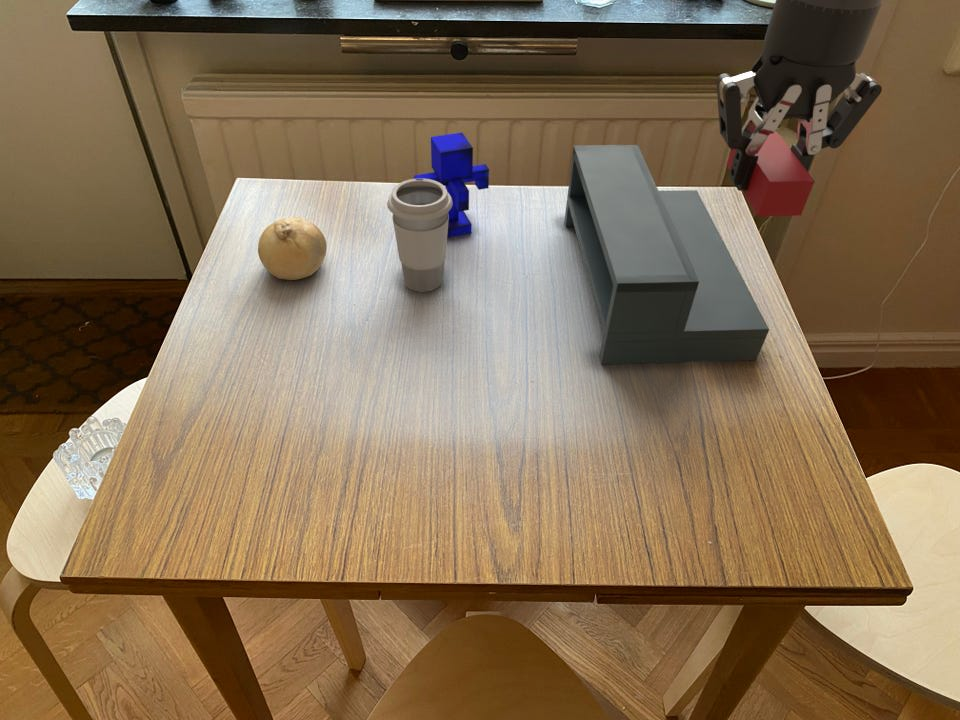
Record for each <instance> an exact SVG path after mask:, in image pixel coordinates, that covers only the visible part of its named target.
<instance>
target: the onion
mask: <svg viewBox="0 0 960 720" xmlns="http://www.w3.org/2000/svg"><path fill="white" fill-rule="evenodd" d="M327 247H328V245H327V240H326V238H325V235H324V233H323V232H322V230H321V229H320V228H319V227H318V226H317V225H316V224H315V223H313V222H312V221H311V220H308V219H304V218H303V217H302V218H301V217H286V218H280V219H278V220H276V221H274V222H273V223H271V224H269V225H268V226H266V228H264V230H263V231H262V233H261V234H260V237H259V239H258V243H257V254H258V258H259V260H260V262H261V265H262V266H263V267H264V268H265V269H266V270H267V271H268V272H269V274H270V275H272V276H273V277H275V278H277V279H280V280H289V281H293V280H301V279H304V278H307V277H309V276H312V275H314V274H315V273H317V272H318V270H319V269H320V268H321V266H322V264H323V262H324V261H325V260H324V259H325V258H326V255H327V249H328V248H327Z"/></svg>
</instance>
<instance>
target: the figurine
mask: <svg viewBox="0 0 960 720" xmlns="http://www.w3.org/2000/svg"><path fill="white" fill-rule="evenodd" d="M469 141H470V140H468V138H467V137H466V136H465V134H464V133H463V132H462V131H461V132H455V133H448V134H442V135H435V136H430V158H431V159H430V160H431V163H430V164H431V168H432V170H433V172H426V173H421V174H414V175H413V179H419V178H421V179H430V180H434V181H437V182H439V183H441V184H442V185H443V186H445V188H446V190H447V192H448V193H449V195H450V196H451V198H452V202H453V205H452V208H451V209H450V211H449V212H448V215H449V220H448V232H447V238H450V237H455V236H461V235H466V234H472V231H473V229H472V227H473V226H472V222H471V220H470V219H469V217H468V215H467V214H466V212H467V211H469V210H470V189H469V188H468V187H467V185H466V184H467V183H472V182H474V185H475V187H476V188H477V190H478V191H479V190H485V189H486V190H487V189H489V185H490V168H489V167H488V165H487V164H486V163H483V164H478V165H474V147H473V145H472V144H471V143H470V142H469Z"/></svg>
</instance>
